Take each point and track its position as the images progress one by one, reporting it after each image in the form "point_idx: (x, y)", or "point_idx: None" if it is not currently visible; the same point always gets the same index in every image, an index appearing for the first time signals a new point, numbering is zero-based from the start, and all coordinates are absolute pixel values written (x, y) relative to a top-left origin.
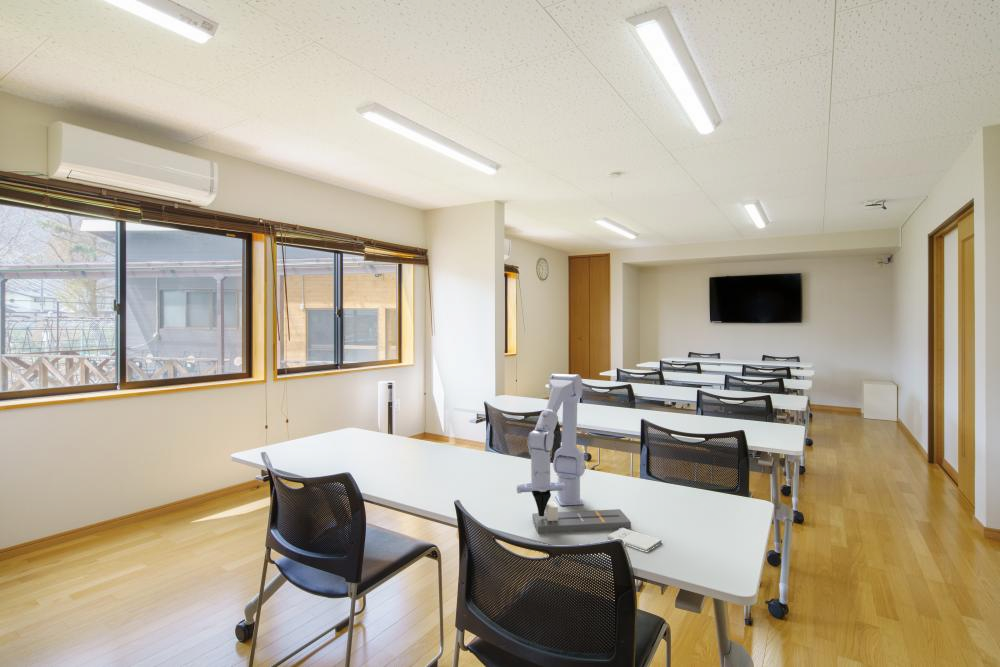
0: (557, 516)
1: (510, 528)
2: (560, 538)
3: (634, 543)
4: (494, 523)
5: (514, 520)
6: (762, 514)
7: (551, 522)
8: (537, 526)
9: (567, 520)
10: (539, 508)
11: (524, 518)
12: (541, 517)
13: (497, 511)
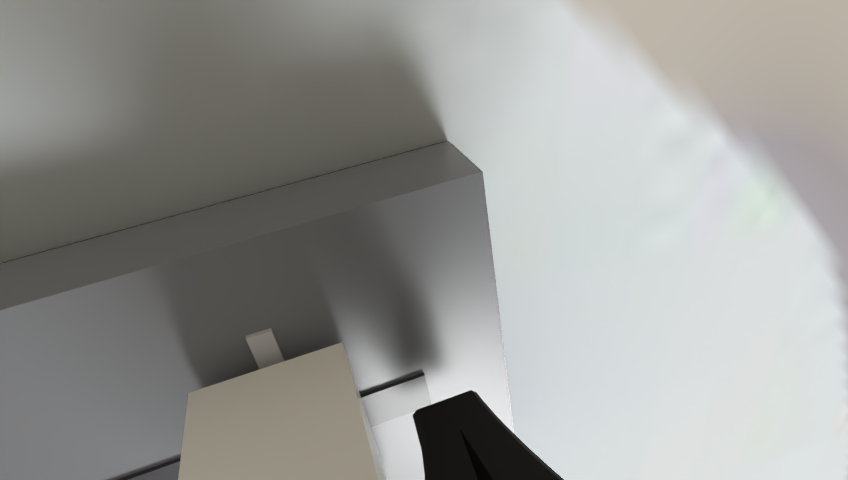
0: (189, 440)
1: (709, 220)
2: (88, 4)
3: None
4: (805, 289)
5: (643, 381)
6: None
7: (288, 343)
8: (482, 192)
9: (46, 458)
10: (536, 476)
11: (558, 436)
12: None
13: (727, 475)
